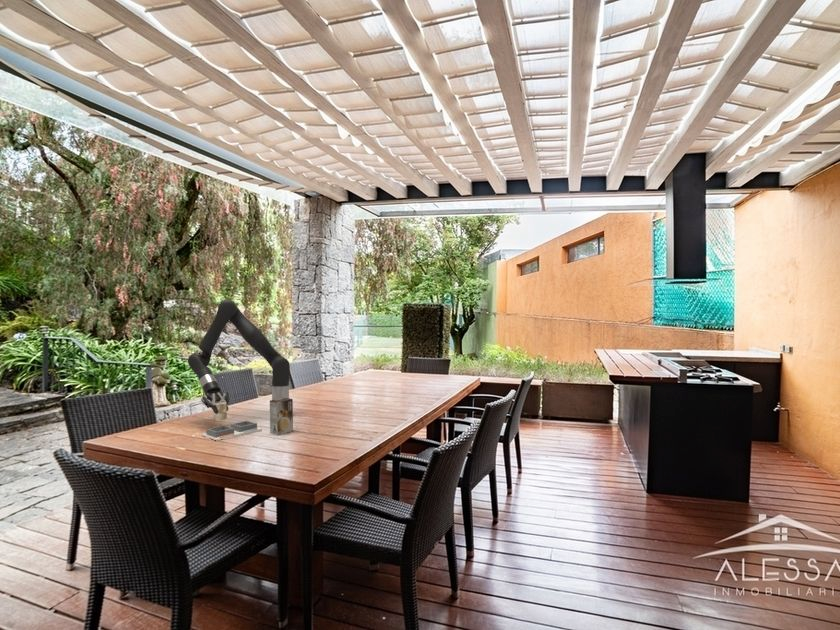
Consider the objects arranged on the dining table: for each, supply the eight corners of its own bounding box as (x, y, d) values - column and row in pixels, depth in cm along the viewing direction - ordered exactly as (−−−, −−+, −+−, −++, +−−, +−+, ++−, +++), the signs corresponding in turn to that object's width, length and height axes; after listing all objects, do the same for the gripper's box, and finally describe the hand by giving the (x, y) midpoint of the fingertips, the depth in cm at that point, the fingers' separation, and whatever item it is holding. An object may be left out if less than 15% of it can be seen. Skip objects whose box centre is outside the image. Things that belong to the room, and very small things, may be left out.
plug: (222, 417, 229) (221, 402, 229) (226, 419, 226) (226, 403, 226) (213, 419, 226) (213, 403, 225) (218, 420, 223) (217, 404, 223)
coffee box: (285, 429, 226) (285, 397, 226) (293, 431, 222) (293, 398, 222) (269, 433, 218) (269, 400, 218) (277, 435, 215) (277, 401, 214)
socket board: (246, 426, 232) (246, 419, 232) (261, 430, 223) (261, 423, 223) (201, 436, 214) (201, 428, 214) (216, 441, 205) (216, 433, 205)
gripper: (198, 382, 225) (210, 409, 217) (225, 378, 236) (238, 404, 228) (193, 392, 228) (205, 419, 221) (220, 387, 239) (233, 413, 232)
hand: (222, 411), depth 225 cm, fingers closed on plug, 4 cm apart
